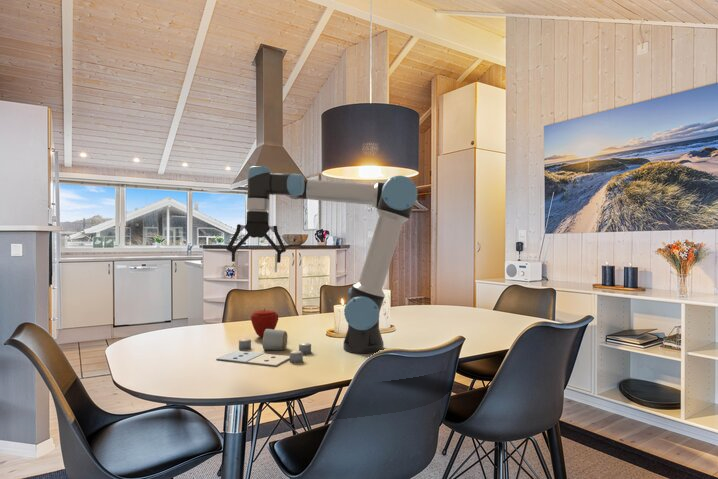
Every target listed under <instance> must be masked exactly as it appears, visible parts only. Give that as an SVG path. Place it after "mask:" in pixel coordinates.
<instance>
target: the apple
mask: <svg viewBox="0 0 718 479" xmlns="http://www.w3.org/2000/svg"><path fill="white" fill-rule="evenodd" d="M250 321H251V324H252V327H253V329H254V331H255V334H256V335H257V336H258V337H260V338H262V339H263V335H264V331H265V329H273V330H276V328H277V324H278V321H279V314H278V313H277V312H276V311H274V310H270V309H269V310H268V309H266V308H264V309H263V310H262V309H261V310H256V311H254V312H252V314H251V316H250Z"/></svg>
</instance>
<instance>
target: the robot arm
mask: <svg viewBox="0 0 718 479" xmlns="http://www.w3.org/2000/svg"><path fill="white" fill-rule="evenodd" d="M418 194H419V192H418V187H417V185H416V184H415V182H414V181H413V180H412V179H411V178H410V177H407V176H405V175H395V176H392V177H390V178H388V179H387V180H386V181H384V182H376V183H375V184H365V183H356V182H353V183H352V182H342V181H330V180H329V181H327V180H320V179H306V178H305V177H304V175H303V174H300V173H294V172H292V173H281V172H280V173H277V172H275V173H274V172H272V171H271V169H270V167H267V166H261V165H256V166H255V165H253V166H250V167H249V168H248V173H247V199H246V210H248V211H247V212H246V223H245V225H244V224H237V225H236V231H235V232H234V234H233V236H232V238H231V240H230V241H229V243H228V244H227V247H226V251H228V252H231V262H232V263H233V262H234V273H237V272H238V269H239V267H238V266H239V252H237V251H238V249H240V248H241V247H242V245H243V244H245V242H246V241H247V240H248V239H249V238H250V237H251V238H254V239H255V238H259V239H262V238H265V240H266V241H267V242H268V243H269V244H270V246H271V247H272V248H273V249H274V251H275V252H276V253H275V254H274V273H278V264H279V263H281V257H282V256H281V254H282V253H285V252H286V251H287V249H286V246H285V244H284V243H283V240H282V238H281V236H280V234H279V232H278V226H277V225H272V226H271V225H269V218H270V217H269V216H270V214H269V210H270V195H272V196H273V195H274V196H275V195H276V196H286V197H288V198H290V199H292V200H311V201H321V202H322V201H323V202H333V203H336V202H337V203H345V204H347V203H348V204H357V205H367V206H368V205H369V206H373V207H374V208H375V209H376V212H377V214H378V219H377V222H376V226H375V228H374V231H373V235H372V238H371V241H370V244H369V248H368V250H367V254H366V256H365V261H364V263H363V266H362V269H361V273H360V277H359V280H358V282H355V283H354V284H352V287H349V289H348V293H347V298H348V300H347V303H346V304H345V307H344V308H343V309H344V311H343V312H344V318H345V320H346V322H347V325H348V326H347V331H346V333H345V337H344V340H343V350H344V351H346V352H349V353H355V354H373V353H378V352H377V351H379V350H382V349H383V350H384V340H383V337H382V334H381V333H382V332H381V331H380V312H381V309H382V305H383V303H384V299H385V297H386V296H385V293H384V290H383V288H384V285H385V281H386V278H387V275H388V271H389V269H390V266H391V263H392V260H393V255H394V253H395V251H396V250H395V249H396V248H397V247H396V246H397V244H398V240H399V237H400V234H401V232H402V228H403V225H404V224H405V223H406V222H409V220H410V217H411V215H412V211H413V208H414V205H415V203H416V202H417V199H418ZM243 230H245V231H246V232H247V233H246V234H245V235H244V236H243V237H242V239H240V241H238V243H237V244H236V245H235V246H234V244H235V242H236V241H237V239H238V237H239V235H240V233H241V232H242V231H243ZM269 231H271V232H273V233H274V235H275V238H276V239H277V242H278V245H279V247H280V248H281V249H280V248H279V247H278V246H277V244H276V243H275V242H274V241H273V239H272V238H271V237H270V236H269V234H268V232H269ZM233 246H234V247H233ZM383 350H382V351H383ZM379 352H380V351H379Z"/></svg>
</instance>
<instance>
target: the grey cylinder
mask: <svg viewBox="0 0 718 479" xmlns="http://www.w3.org/2000/svg"><path fill="white" fill-rule="evenodd" d="M287 345H288V332H287V331H286V330H282V329H274V330H273V329H265V331H264V335H263V338H262V349H263V350H264V351H283V350H286V348H287Z"/></svg>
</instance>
